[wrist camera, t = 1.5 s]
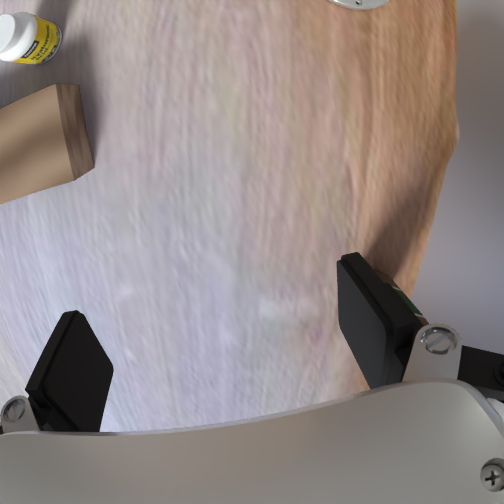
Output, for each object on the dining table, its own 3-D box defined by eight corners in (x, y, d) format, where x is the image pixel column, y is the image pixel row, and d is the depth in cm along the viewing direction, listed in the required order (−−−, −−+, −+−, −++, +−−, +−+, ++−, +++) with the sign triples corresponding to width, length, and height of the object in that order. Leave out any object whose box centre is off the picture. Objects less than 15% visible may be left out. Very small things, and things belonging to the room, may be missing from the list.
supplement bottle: (50, 69, 26) (4, 64, 18) (19, 60, 25) (-29, 56, 16) (70, 27, 24) (29, 10, 16) (38, 19, 23) (-7, 4, 14)
